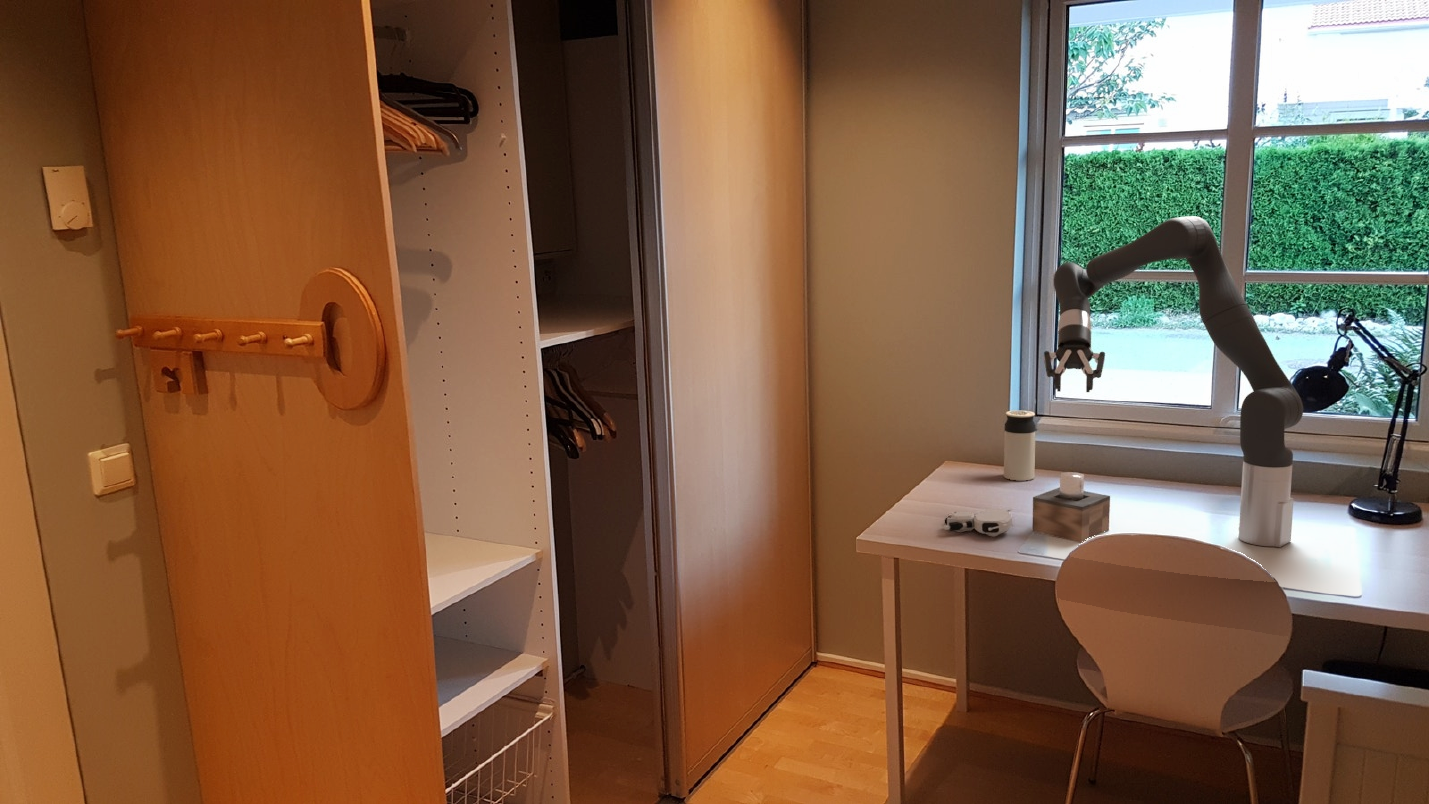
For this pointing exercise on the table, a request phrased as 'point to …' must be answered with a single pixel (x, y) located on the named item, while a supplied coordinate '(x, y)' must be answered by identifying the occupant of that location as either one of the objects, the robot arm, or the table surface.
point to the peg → (1071, 486)
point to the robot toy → (980, 522)
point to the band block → (1071, 515)
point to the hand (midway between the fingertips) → (1073, 389)
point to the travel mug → (1019, 445)
